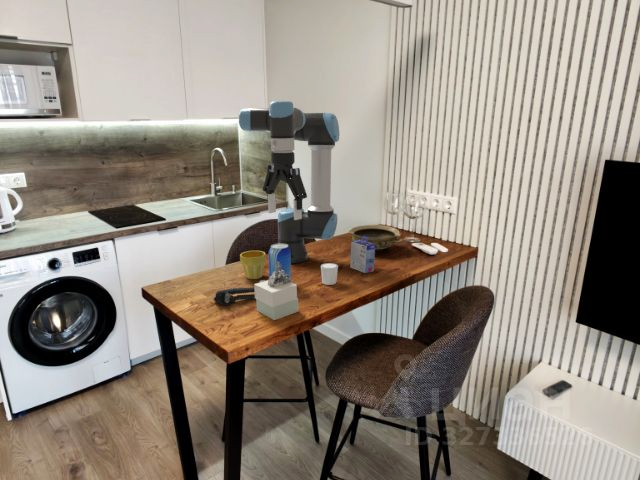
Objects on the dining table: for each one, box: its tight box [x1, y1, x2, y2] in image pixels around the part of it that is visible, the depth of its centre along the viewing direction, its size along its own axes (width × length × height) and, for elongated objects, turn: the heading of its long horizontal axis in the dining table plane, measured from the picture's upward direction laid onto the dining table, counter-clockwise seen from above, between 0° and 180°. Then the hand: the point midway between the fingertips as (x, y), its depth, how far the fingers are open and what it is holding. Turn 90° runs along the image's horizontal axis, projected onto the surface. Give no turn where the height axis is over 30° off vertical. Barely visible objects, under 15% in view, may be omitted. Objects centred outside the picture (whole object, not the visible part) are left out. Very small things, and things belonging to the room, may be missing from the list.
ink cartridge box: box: [349, 236, 376, 274], centre depth 184 cm, size 10×6×14 cm, turn 38°
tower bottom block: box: [255, 297, 299, 321], centre depth 145 cm, size 10×10×5 cm
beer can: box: [268, 243, 292, 280], centre depth 166 cm, size 8×8×16 cm
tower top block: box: [253, 279, 298, 307], centre depth 143 cm, size 10×10×5 cm
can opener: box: [213, 287, 256, 306], centre depth 153 cm, size 18×7×6 cm, turn 114°
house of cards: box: [259, 261, 292, 288], centre depth 144 cm, size 9×9×8 cm
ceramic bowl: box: [347, 224, 403, 253], centre depth 212 cm, size 30×24×10 cm
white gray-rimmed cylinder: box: [320, 262, 339, 286], centre depth 170 cm, size 7×7×7 cm
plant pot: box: [239, 250, 267, 280], centre depth 176 cm, size 10×10×10 cm
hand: (284, 215), depth 145 cm, fingers open, 13 cm apart
